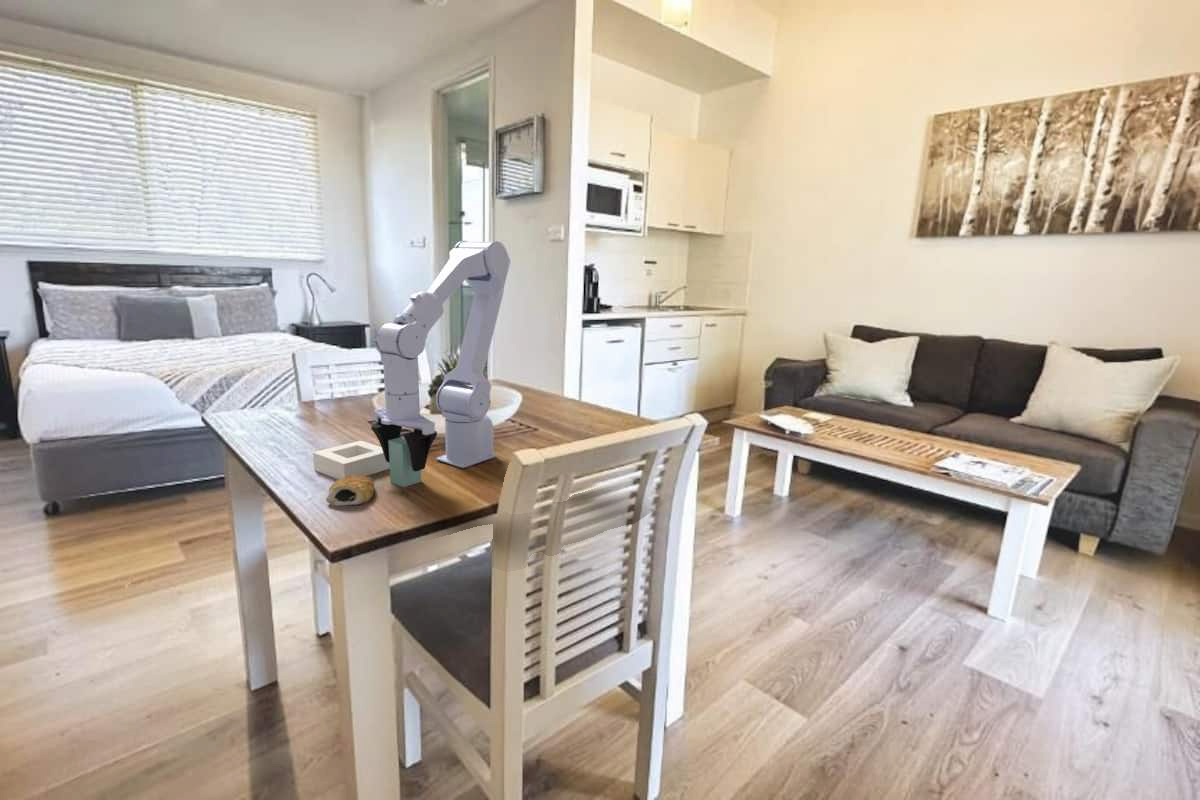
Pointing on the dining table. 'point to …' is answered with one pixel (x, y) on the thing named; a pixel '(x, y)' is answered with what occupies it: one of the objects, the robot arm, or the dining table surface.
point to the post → (401, 464)
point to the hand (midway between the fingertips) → (405, 465)
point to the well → (350, 460)
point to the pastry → (351, 491)
